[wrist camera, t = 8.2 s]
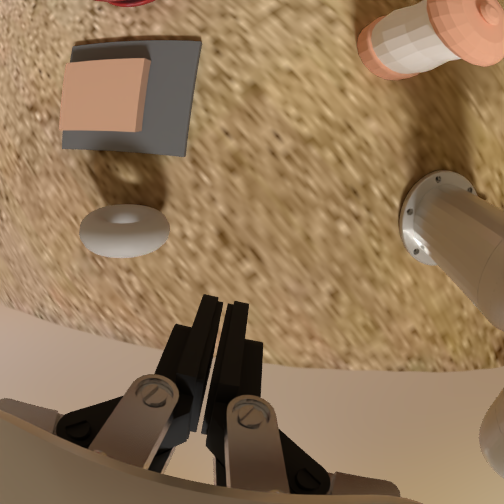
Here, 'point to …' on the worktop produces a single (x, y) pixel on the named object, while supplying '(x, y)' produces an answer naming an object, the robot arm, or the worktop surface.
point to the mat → (147, 97)
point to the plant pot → (127, 2)
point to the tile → (104, 95)
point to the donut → (124, 230)
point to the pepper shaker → (433, 37)
